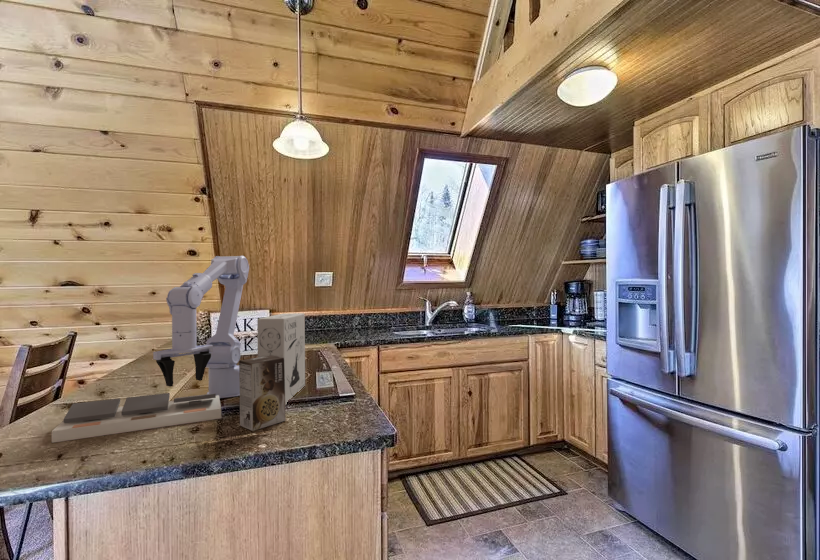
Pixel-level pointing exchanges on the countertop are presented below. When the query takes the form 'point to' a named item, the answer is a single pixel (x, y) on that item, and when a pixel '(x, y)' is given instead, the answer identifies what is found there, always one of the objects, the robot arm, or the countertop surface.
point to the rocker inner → (194, 398)
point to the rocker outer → (92, 410)
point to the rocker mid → (146, 404)
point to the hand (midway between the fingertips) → (184, 382)
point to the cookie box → (262, 392)
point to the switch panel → (140, 420)
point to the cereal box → (285, 347)
